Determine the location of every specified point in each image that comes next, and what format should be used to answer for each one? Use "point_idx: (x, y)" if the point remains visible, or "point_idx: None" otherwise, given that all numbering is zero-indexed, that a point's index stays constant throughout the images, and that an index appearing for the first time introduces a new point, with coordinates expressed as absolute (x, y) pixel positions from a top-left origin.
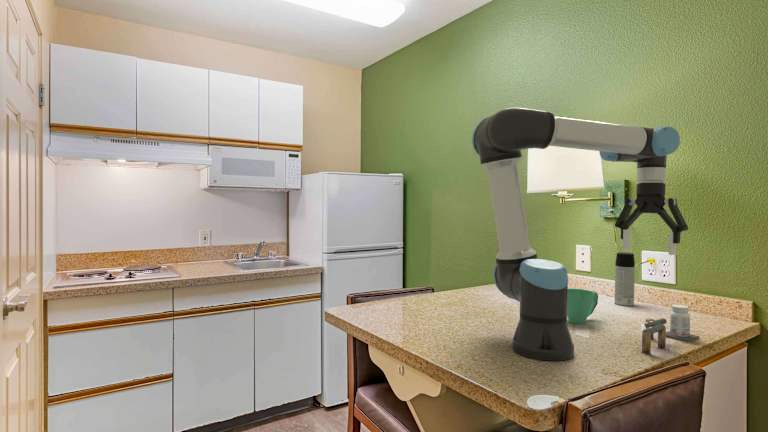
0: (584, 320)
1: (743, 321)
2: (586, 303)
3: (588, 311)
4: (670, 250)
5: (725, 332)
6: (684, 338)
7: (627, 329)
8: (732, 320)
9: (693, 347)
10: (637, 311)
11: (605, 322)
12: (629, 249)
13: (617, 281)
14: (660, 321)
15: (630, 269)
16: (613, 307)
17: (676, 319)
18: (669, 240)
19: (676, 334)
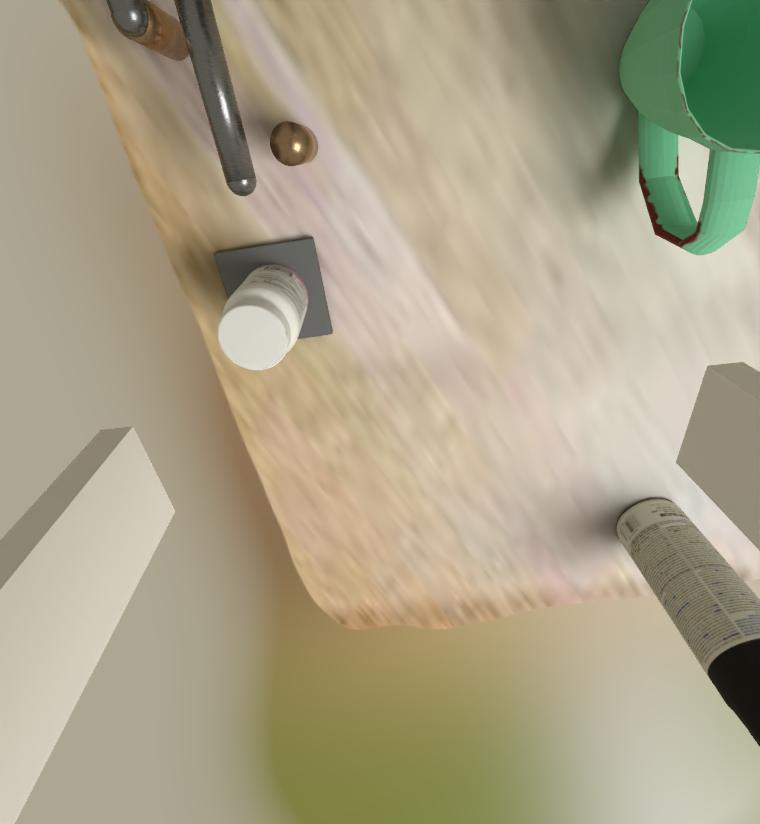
0: (621, 58)
1: (337, 608)
2: (660, 2)
3: (630, 65)
4: (84, 463)
5: (273, 479)
6: (234, 263)
7: (437, 191)
8: (355, 597)
9: (155, 200)
10: (566, 476)
11: (558, 204)
12: (682, 461)
13: (724, 570)
14: (207, 114)
15: (711, 645)
16: (653, 454)
17: (251, 281)
18: (5, 585)
19: (265, 266)
